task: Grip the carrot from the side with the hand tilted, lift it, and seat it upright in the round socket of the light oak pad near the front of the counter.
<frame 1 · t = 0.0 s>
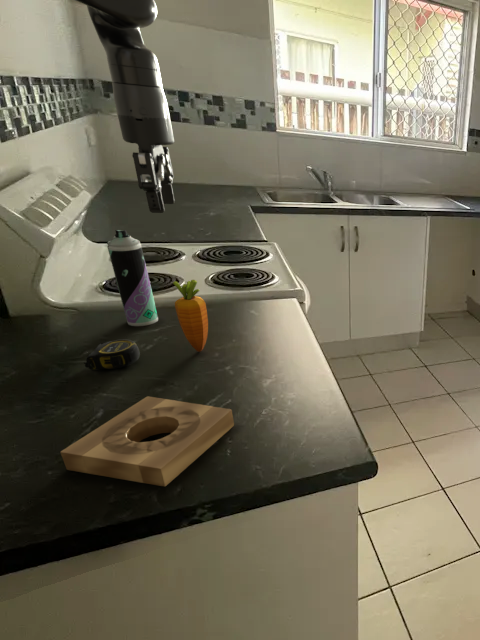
hand: (163, 207, 90), 26 cm above the worktop, tool pointing down, fingers open, 8 cm apart
spray can: (143, 321, 103), on the worktop
tape measure: (113, 366, 86), on the worktop
carrot: (199, 352, 94), on the worktop
socket pad: (157, 445, 68), on the worktop
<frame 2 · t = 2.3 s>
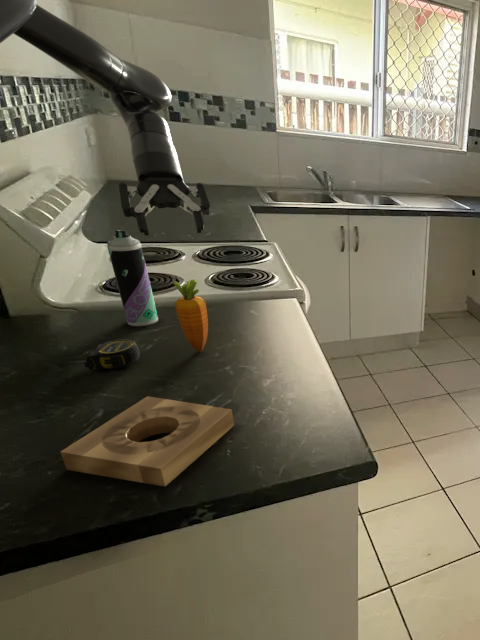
hand: (173, 232, 92), 21 cm above the worktop, tool tilted 45°, fingers open, 8 cm apart
nothing on the worktop moved.
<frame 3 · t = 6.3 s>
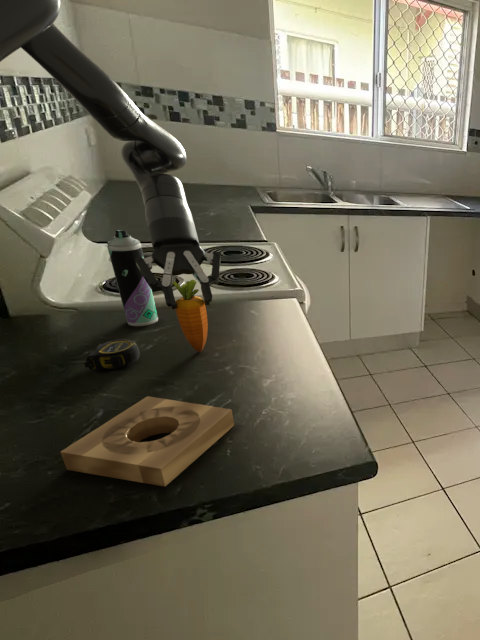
hand: (191, 305, 88), 11 cm above the worktop, tool tilted 45°, fingers closed on carrot, 4 cm apart
carrot: (199, 352, 94), on the worktop, touching gripper
everything else where it was.
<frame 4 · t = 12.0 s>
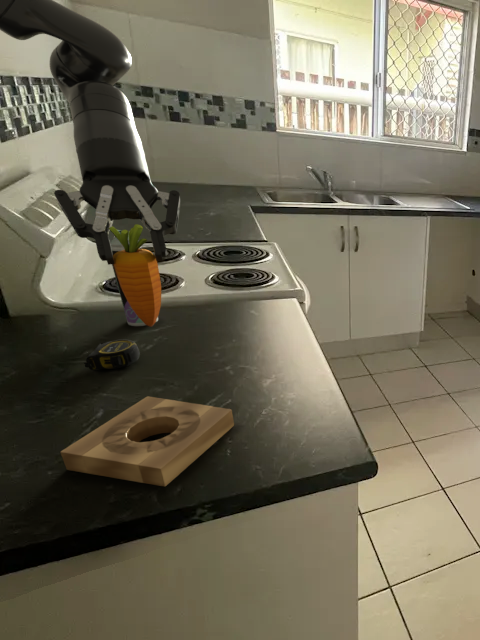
hand: (135, 259, 64), 26 cm above the worktop, tool tilted 45°, fingers closed on carrot, 4 cm apart
carrot: (151, 327, 69), point 15 cm above the worktop, touching gripper
everything else where it was.
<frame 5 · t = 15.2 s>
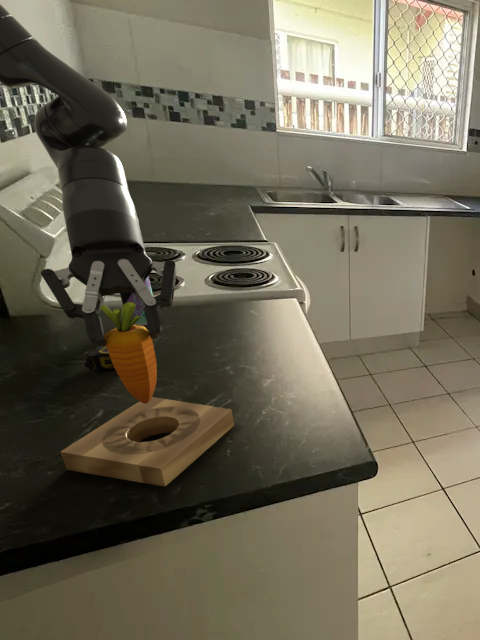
hand: (128, 339, 60), 18 cm above the worktop, tool tilted 45°, fingers closed on carrot, 4 cm apart
carrot: (146, 404, 65), point 7 cm above the worktop, touching gripper
everything else where it was.
when the fingers open (11 cm above the worktop, at t = 17.7 s): carrot stays where it is, resting in socket pad.
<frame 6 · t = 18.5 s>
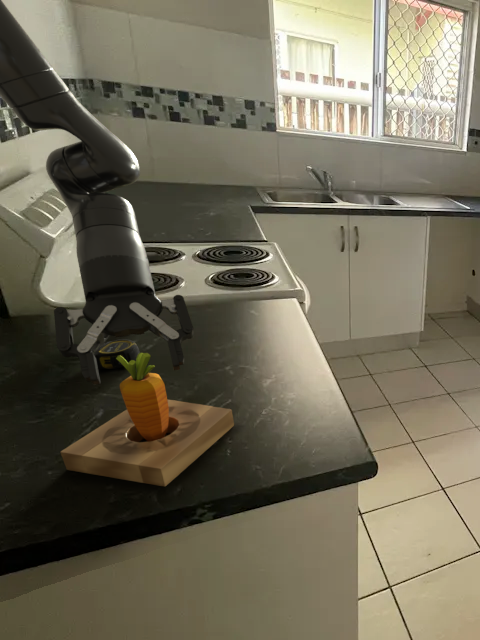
hand: (138, 375, 62), 12 cm above the worktop, tool tilted 45°, fingers open, 8 cm apart
carrot: (158, 446, 68), resting in socket pad
everything else where it was.
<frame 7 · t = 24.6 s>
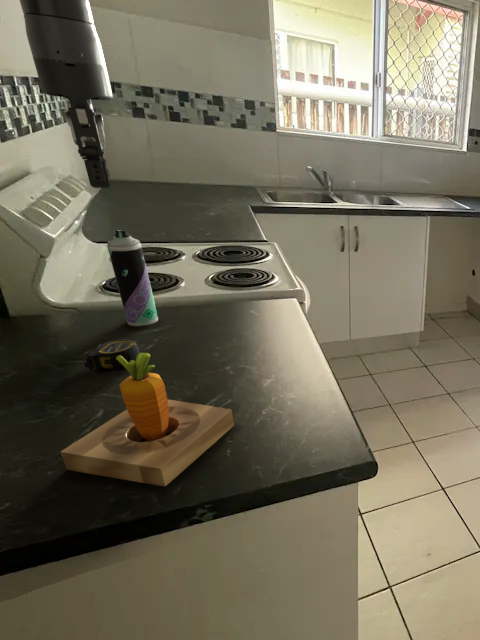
hand: (101, 182, 71), 33 cm above the worktop, tool pointing down, fingers open, 8 cm apart
nothing on the worktop moved.
at the end: carrot 0.0 cm off-centre in the socket pad, point 0.0 cm above the socket pad's base; carrot tilted 0°; the gripper is holding nothing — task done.
